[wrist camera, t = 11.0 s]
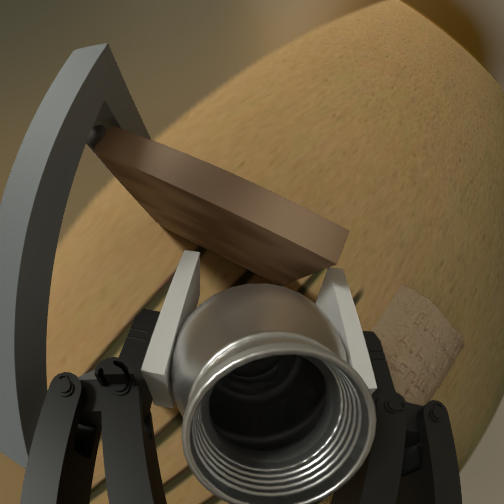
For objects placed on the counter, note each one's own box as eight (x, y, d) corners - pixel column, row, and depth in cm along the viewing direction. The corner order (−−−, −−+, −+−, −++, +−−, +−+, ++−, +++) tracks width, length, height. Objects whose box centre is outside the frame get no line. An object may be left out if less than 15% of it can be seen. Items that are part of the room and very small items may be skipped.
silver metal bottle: (278, 288, 24) (422, 231, 5) (287, 364, 23) (420, 503, 4) (203, 297, 24) (79, 269, 4) (213, 373, 23) (155, 549, 3)
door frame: (175, 189, 26) (108, 42, 8) (150, 377, 23) (32, 472, 5) (156, 187, 26) (74, 50, 8) (130, 373, 23) (-1, 450, 5)
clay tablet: (462, 346, 26) (477, 348, 23) (419, 418, 24) (432, 425, 21) (391, 276, 27) (405, 273, 24) (336, 359, 25) (347, 364, 22)
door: (151, 221, 25) (78, 144, 11) (165, 196, 25) (110, 102, 12) (281, 285, 25) (336, 264, 11) (293, 258, 25) (358, 206, 11)
